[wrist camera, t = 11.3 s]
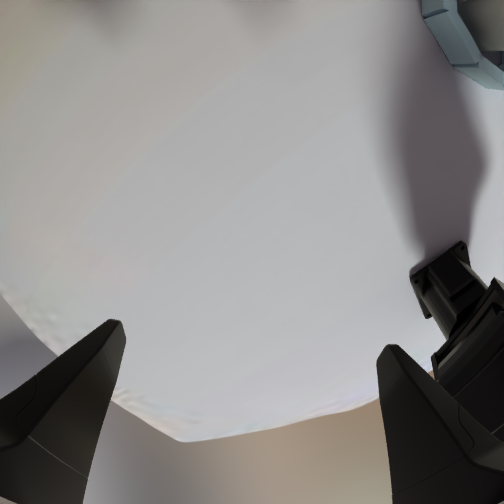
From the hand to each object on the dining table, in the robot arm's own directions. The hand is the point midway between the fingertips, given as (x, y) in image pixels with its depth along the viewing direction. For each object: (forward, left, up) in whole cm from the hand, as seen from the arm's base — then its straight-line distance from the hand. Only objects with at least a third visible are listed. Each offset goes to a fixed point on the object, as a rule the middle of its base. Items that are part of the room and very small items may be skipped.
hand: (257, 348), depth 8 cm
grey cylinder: (+3, -24, -12) cm, 27 cm away
